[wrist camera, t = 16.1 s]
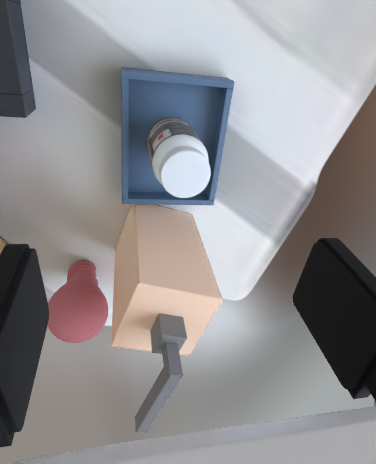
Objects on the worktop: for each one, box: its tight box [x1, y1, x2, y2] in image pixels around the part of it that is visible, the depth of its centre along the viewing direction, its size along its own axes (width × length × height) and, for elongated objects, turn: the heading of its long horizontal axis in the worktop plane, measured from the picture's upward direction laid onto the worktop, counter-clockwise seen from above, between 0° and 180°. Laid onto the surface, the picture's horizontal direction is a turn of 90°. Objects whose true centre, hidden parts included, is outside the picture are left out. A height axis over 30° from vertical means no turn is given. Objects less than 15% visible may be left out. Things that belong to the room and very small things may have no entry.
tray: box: [121, 67, 234, 205], centre depth 36 cm, size 14×11×3 cm
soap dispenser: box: [111, 204, 223, 432], centre depth 35 cm, size 13×9×22 cm
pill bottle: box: [148, 118, 211, 198], centre depth 32 cm, size 6×6×10 cm
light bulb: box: [48, 261, 108, 343], centre depth 40 cm, size 7×7×12 cm
